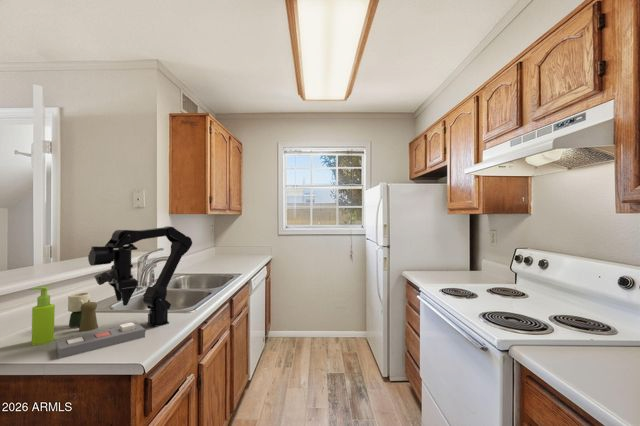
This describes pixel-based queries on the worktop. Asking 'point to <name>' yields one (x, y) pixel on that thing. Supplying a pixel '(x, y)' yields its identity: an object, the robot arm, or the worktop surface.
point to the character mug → (76, 307)
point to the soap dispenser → (43, 319)
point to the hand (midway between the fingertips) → (121, 303)
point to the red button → (102, 334)
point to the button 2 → (127, 327)
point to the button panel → (97, 340)
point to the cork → (88, 316)
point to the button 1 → (75, 340)
